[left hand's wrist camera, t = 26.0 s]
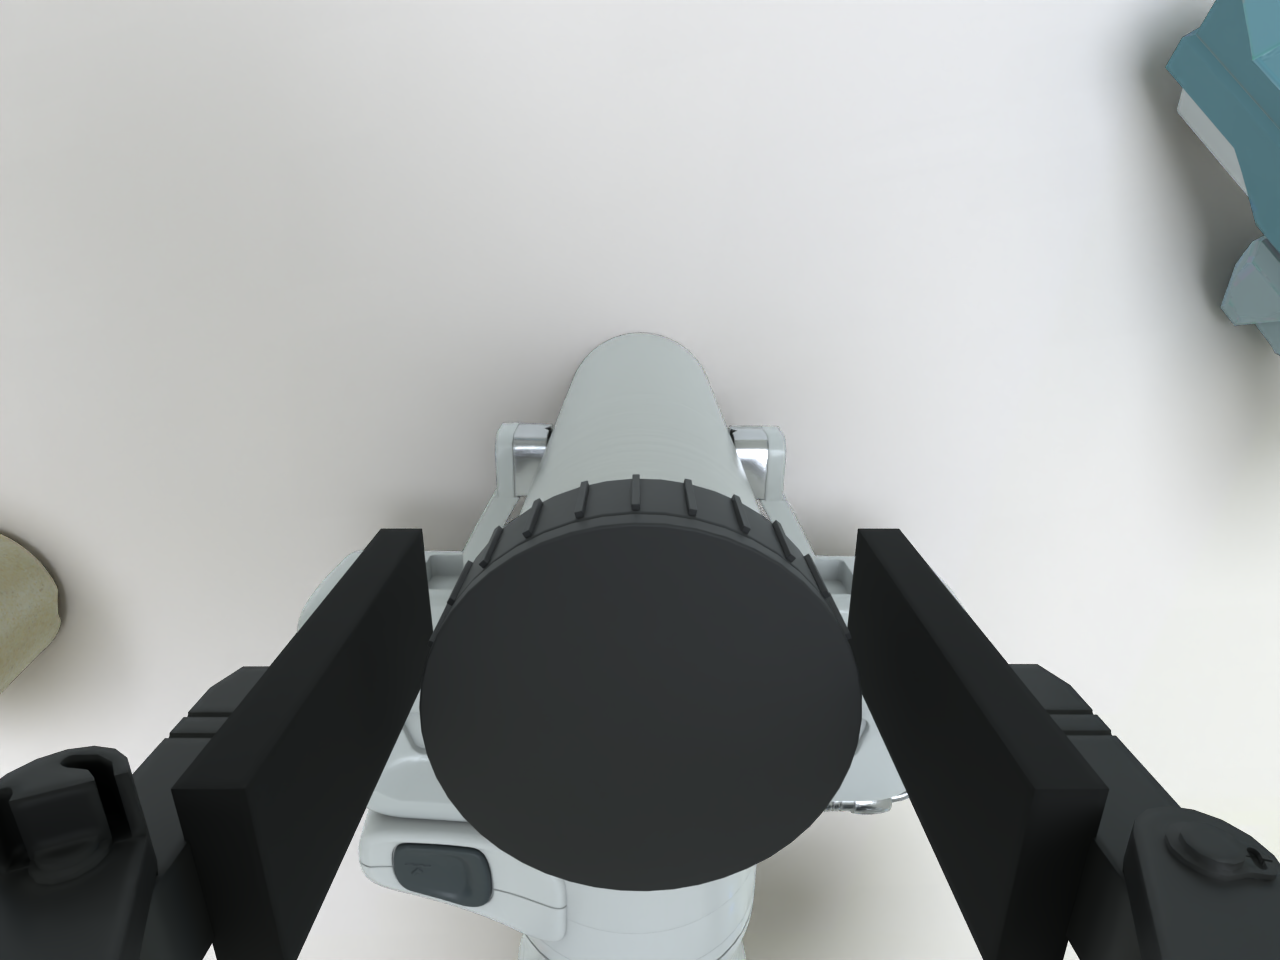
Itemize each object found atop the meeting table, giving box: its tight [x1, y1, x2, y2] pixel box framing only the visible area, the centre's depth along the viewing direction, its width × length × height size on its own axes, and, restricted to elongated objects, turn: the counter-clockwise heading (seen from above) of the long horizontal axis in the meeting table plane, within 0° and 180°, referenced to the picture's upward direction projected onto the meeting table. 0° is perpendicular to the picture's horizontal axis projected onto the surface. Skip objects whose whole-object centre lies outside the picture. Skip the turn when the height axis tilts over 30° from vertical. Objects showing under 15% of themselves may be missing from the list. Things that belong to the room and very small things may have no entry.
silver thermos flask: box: [519, 333, 762, 516], centre depth 20 cm, size 5×5×17 cm
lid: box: [419, 474, 862, 891], centre depth 11 cm, size 6×6×2 cm
